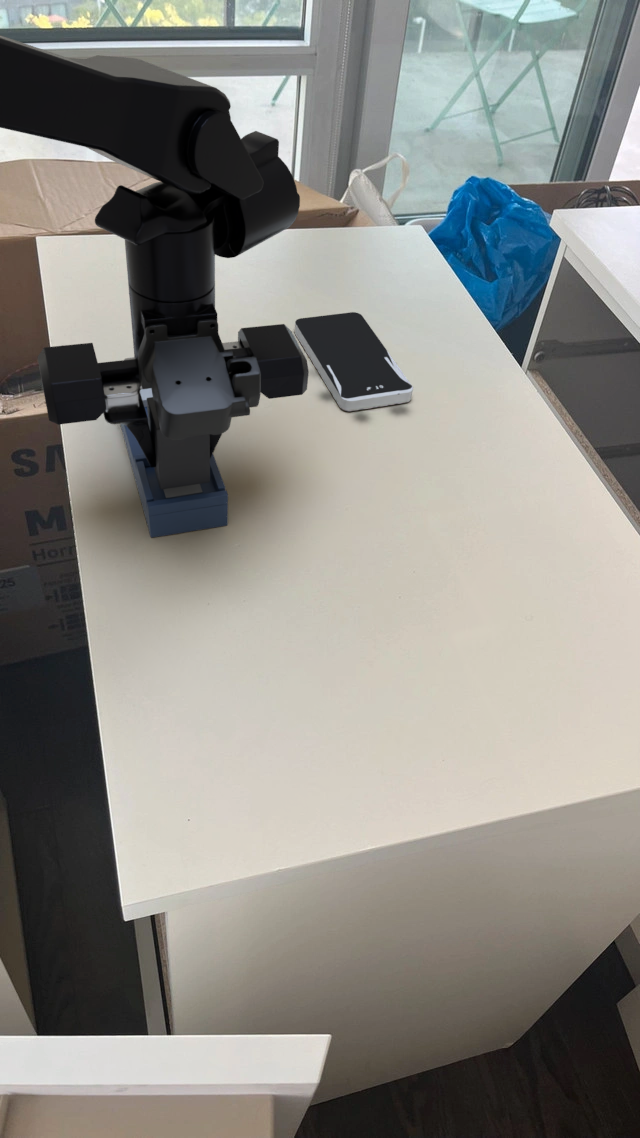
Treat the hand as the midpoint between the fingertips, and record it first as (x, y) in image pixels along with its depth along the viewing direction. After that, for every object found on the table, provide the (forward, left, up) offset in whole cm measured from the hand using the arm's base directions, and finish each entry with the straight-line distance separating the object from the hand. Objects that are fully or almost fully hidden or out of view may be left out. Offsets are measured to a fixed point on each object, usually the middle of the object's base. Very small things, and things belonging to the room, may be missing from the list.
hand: (179, 460), depth 68 cm
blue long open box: (0, +7, -5) cm, 8 cm away
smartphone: (+21, +17, -5) cm, 28 cm away
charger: (0, 0, -1) cm, 1 cm away
